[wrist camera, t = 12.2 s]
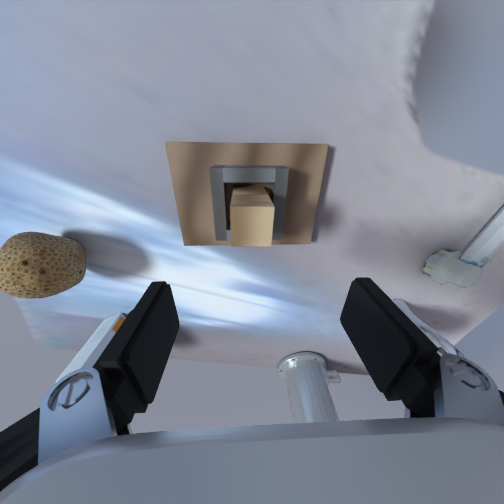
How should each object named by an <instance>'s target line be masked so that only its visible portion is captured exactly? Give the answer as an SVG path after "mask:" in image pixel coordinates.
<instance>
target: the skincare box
mask: <svg viewBox="0 0 504 504" xmlns="http://www.w3.org/2000/svg"><path fill="white" fill-rule="evenodd" d="M125 319H126V317H125V316H124V315H123V314H122V313H119V314H117V315H114V316H111V317H109V318H106V319H105V320H104V321H103V322H102V323H101V324H100V326H99V327H98V328H97V330H96V331H95V332H94V333H93V335H92V336H91V337H90V338H89V340H88V341H87V342H86V344H85V345H84V346H83V347H82V349H81V350H80V351H79V352H78V354H77V355H76V356H75V357H74V359H73V360H72V361H71V362H70V364H69V365H68V366H67V368H66V369H65V370H64V371H63V373H62V374H61V375H60V376H59V378H58V379H57V380H56V382H58V381H59V380H60V379H61V378H63V377H64V376H66V375H67V374H69V373H71V372H73V371H75V370H78V369H81V368H85V367H90V368H92V367H93V365H94V364H95V362H96V361H97V360H98V358H99V357H100V355H101V354H102V352H103V351H104V349H105V348H106V346H107V345H108V343H109V342H110V340H111V339H112V338H113V336H114V335H115V333H116V332H117V330H118V329H119V327H120V326H121V324H122V323H123V321H124V320H125Z"/></svg>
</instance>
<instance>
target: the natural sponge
mask: <svg viewBox="0 0 504 504" xmlns="http://www.w3.org/2000/svg"><path fill="white" fill-rule="evenodd" d="M85 272H86V258H85V253H84V250H83V248H82V247H81V245H80V244H79V243H78V242H76V241H74V240H72V239H69V238H65V237H60V236H54V235H49V234H45V233H39V232H23V233H19V234H17V235H14V236H12V237H11V238H9V239H8V240H7V241H6V242H5V243H4V245H3V246H2V247H1V249H0V289H1V290H2V291H4V292H6V293H8V294H10V295H12V296H15V297H19V298H44V297H49V296H52V295H56V294H58V293H61V292H63V291H65V290H68V289H70V288H72V287H73V286H75V285H77V284H78V283H80V282H81V281H82V279H83V278H84V275H85Z"/></svg>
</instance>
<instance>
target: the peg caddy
mask: <svg viewBox="0 0 504 504" xmlns="http://www.w3.org/2000/svg"><path fill="white" fill-rule="evenodd" d="M165 145H166V151H167V156H168V161H169V167H170V172H171V177H172V183H173V188H174V193H175V199H176V204H177V209H178V215H179V220H180V226H181V231H182V236H183V242H184V246H196V245H231V224H230V204H231V198H232V193H233V187H234V185H246V186H264V188H265V190H266V192H267V194H268V195H269V197H270V199H271V201H272V203H273V205H274V207H275V209H274V220H273V231H272V242H271V245H272V244H311V238H312V233H313V227H314V222H315V216H316V211H317V205H318V200H319V194H320V189H321V183H322V178H323V172H324V167H325V161H326V156H327V150H328V145H329V144H289V143H208V142H165Z"/></svg>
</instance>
